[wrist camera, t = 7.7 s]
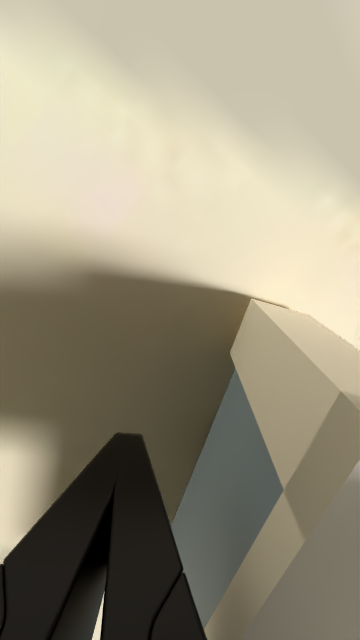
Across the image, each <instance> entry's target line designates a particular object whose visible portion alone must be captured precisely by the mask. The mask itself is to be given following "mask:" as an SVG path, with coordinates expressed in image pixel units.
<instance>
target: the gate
mask: <svg viewBox="0 0 360 640" xmlns="http://www.w3.org/2000/svg"><path fill="white" fill-rule="evenodd" d="M230 355H231V358H232V360H233V363H234V365H235V370H234V372H233V375H232V377H231V380H230V382H229V385H228V387H227V390H226V392H225V395H224V397H223V399H222V402H221V404H220V407H219V409H218V412H217V414H216V417H215V419H214V422H213V424H212V426H211V429H210V431H209V434H208V436H207V439H206V441H205V444H204V446H203V449H202V451H201V454H200V456H199V458H198V461H197V463H196V466H195V468H194V471H193V473H192V476H191V478H190V481H189V483H188V485H187V488H186V490H185V493H184V495H183V498H182V500H181V503H180V505H179V508H178V510H177V512H176V515H175V517H174V520H173V522H172V525H171V529H172V532H173V535H174V539H175V542H176V545H177V548H178V552H179V555H180V558H181V561H182V564H183V568H184V570H183V572H184V573H185V574H186V577H187V580H188V583H189V586H190V590H191V593H192V596H193V599H194V602H195V605H196V608H197V611H198V614H199V617H200V620H201V623H202V626H203V628H204V631H205V634H206V637H207V640H360V350H358V349H357V348H355V347H354V346H352V345H351V344H350V343H348V342H347V341H345V340H344V339H343V338H341V337H340V336H338V335H337V334H335V333H334V332H333V331H331V330H330V329H328V328H327V327H325V326H324V325H323V324H321V323H320V322H318V321H317V320H315V319H314V318H313V317H311V316H310V315H307V314H304V313H300V312H297V311H293V310H290V309H286V308H283V307H279V306H276V305H273V304H269V303H266V302H262V301H259V300H255V299H252V298H251V300H250V303H249V305H248V308H247V310H246V313H245V316H244V318H243V321H242V323H241V326H240V328H239V331H238V333H237V336H236V339H235V341H234V344H233V346H232V349H231V351H230Z"/></svg>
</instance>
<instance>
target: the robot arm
mask: <svg viewBox="0 0 360 640" xmlns="http://www.w3.org/2000/svg"><path fill="white" fill-rule="evenodd" d="M183 570H184V568H183V564H182V561H181V558H180V555H179V552H178V548H177V545H176V542H175V539H174V535H173V532H172V529H171V526H170V523H169V519H168V516H167V513H166V510H165V506H164V503H163V500H162V497H161V493H160V490H159V487H158V484H157V481H156V477H155V474H154V471H153V468H152V464H151V461H150V458H149V455H148V452H147V448H146V445H145V442H144V439H143V436H142V435H141V434H135V433H121V432H118V433H116V434H115V435H114V436H113V437H112V438H111V439H110V440H109V441H108V442H107V444H106V445H105V446H104V447H103V448H102V449H101V450H100V451H99V453H98V454H97V455H96V456H95V457H94V458H93V459H92V461H91V462H90V463H89V464H88V465H87V466H86V467H85V468H84V470H83V471H82V472H81V473H80V474H79V475H78V476H77V477H76V479H75V480H74V481H73V482H72V483H71V484H70V485H69V487H68V488H67V489H66V490H65V491H64V492H63V493H62V494H61V496H60V497H59V498H58V499H57V500H56V501H55V502H54V504H53V505H52V506H51V507H50V508H49V509H48V510H47V511H46V513H45V514H44V515H43V516H42V517H41V518H40V519H39V520H38V522H37V523H36V524H35V525H34V526H33V527H32V528H31V530H30V531H29V532H28V533H27V534H26V535H25V536H24V537H23V539H22V540H21V541H20V542H19V543H18V544H17V545H16V546H15V548H14V549H13V550H12V551H11V552H10V553H9V554H8V556H7V557H6V558H5V559H4V561H3V564H0V640H92V636H93V633H94V629H95V625H96V621H97V617H98V613H99V609H100V606H101V602H102V598H103V594H104V604H103V615H102V626H101V637H100V640H207V637H206V634H205V631H204V628H203V626H202V623H201V620H200V617H199V614H198V611H197V608H196V605H195V602H194V599H193V596H192V593H191V590H190V586H189V583H188V580H187V577H186V574H185V573H184V572H183ZM104 590H105V593H104Z"/></svg>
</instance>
